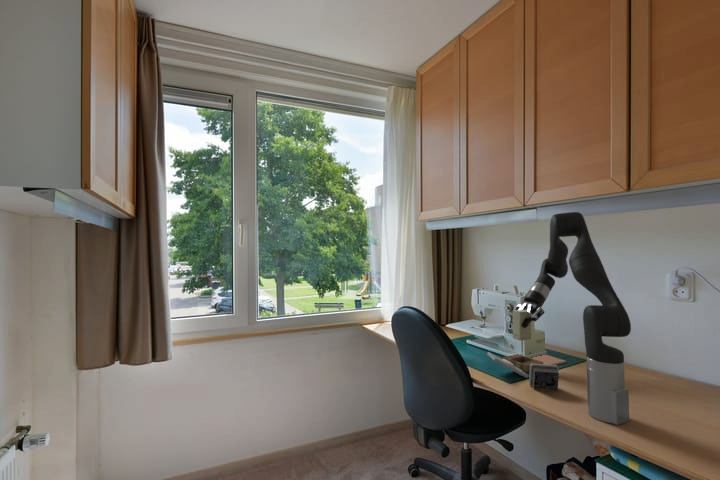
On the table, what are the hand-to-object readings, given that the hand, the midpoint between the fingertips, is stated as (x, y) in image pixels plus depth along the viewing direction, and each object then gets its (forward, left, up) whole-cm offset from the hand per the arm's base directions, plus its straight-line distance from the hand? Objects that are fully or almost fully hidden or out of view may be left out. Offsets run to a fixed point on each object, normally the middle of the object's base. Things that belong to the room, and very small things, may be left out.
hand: (518, 325), depth 144 cm
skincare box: (0, -2, -6) cm, 7 cm away
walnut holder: (0, -2, -18) cm, 18 cm away
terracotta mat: (+1, -17, -18) cm, 24 cm away
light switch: (-3, +11, -18) cm, 21 cm away
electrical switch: (-20, +10, -18) cm, 29 cm away
